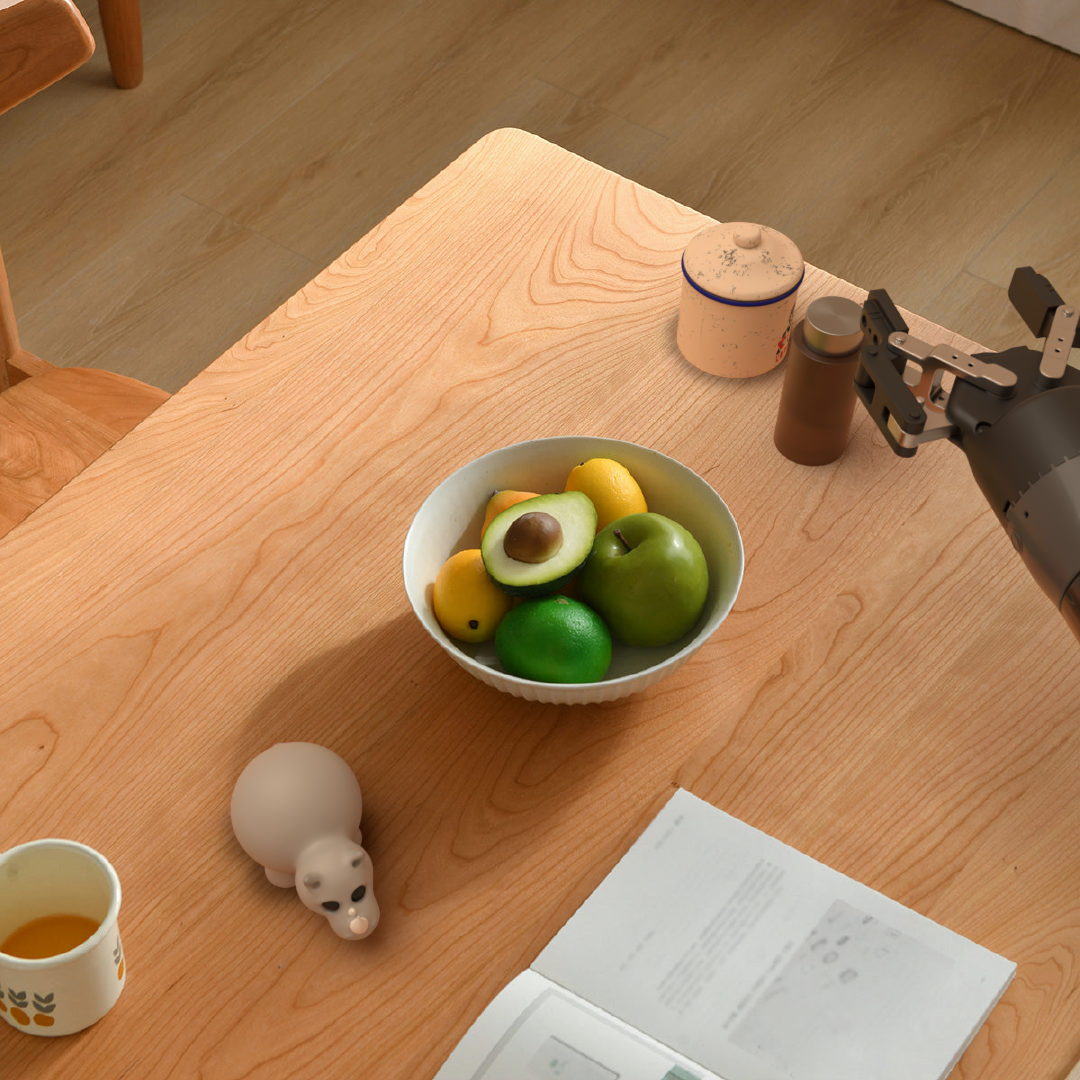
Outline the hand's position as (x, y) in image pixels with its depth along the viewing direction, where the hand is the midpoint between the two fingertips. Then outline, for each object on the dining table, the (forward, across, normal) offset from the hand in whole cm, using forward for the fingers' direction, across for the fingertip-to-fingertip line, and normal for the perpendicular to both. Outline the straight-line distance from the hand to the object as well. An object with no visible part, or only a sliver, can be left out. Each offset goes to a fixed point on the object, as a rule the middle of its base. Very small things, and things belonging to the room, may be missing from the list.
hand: (944, 290), depth 74 cm
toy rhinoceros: (-15, +39, +24) cm, 48 cm away
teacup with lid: (+24, +2, +24) cm, 34 cm away
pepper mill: (+11, 0, +24) cm, 26 cm away
